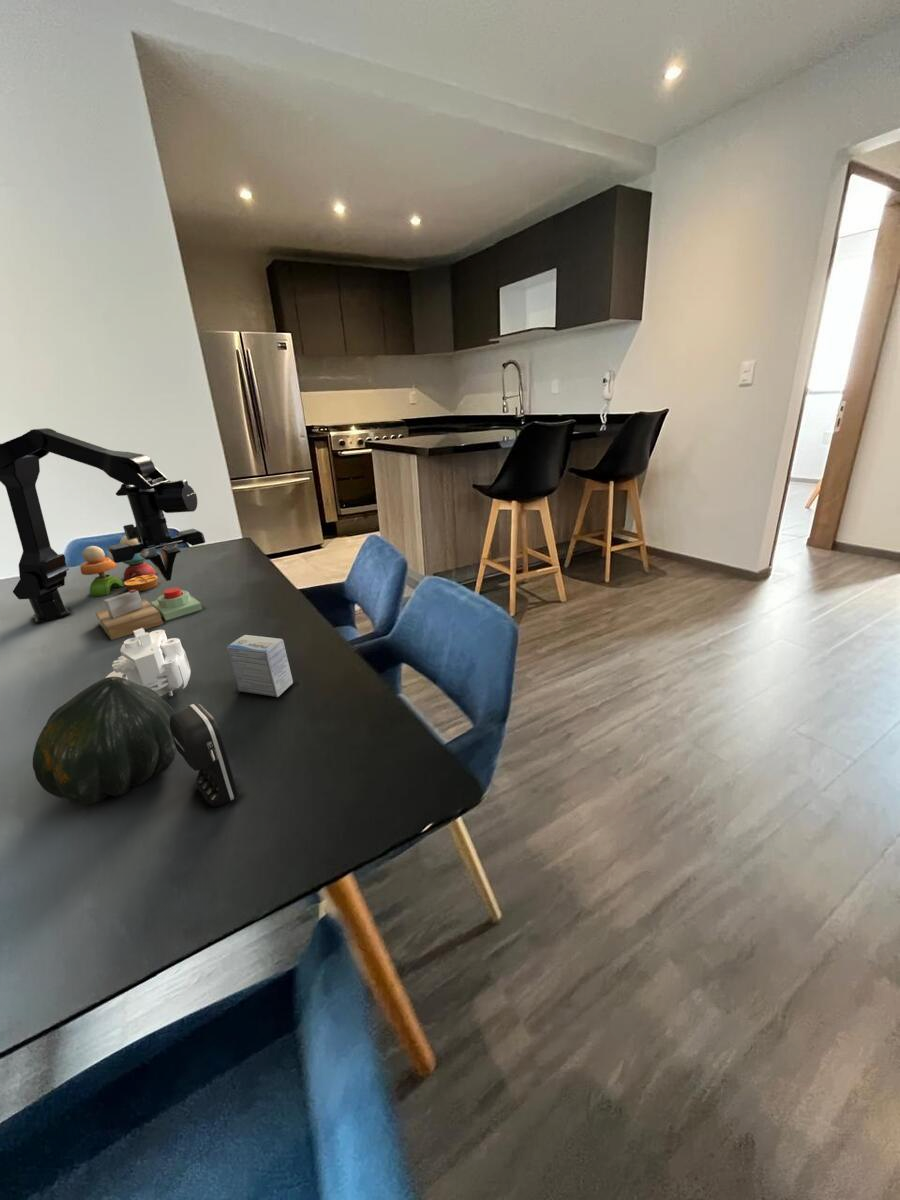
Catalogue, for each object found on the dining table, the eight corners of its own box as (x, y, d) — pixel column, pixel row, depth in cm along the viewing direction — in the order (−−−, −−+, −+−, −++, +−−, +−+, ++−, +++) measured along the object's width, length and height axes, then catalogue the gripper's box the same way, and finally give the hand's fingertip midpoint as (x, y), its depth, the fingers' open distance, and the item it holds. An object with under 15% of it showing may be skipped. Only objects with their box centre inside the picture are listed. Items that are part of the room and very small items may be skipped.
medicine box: (294, 684, 83) (284, 638, 79) (277, 698, 79) (266, 651, 75) (255, 678, 85) (244, 633, 82) (237, 692, 81) (225, 646, 78)
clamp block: (98, 625, 111) (93, 612, 110) (150, 609, 118) (146, 597, 117) (109, 640, 103) (104, 627, 102) (164, 623, 110) (160, 610, 108)
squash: (-3, 764, 59) (14, 697, 52) (116, 699, 72) (143, 638, 65) (79, 847, 59) (107, 792, 51) (184, 767, 72) (219, 714, 64)
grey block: (113, 618, 106) (106, 600, 105) (109, 616, 107) (103, 599, 105) (143, 607, 111) (137, 589, 110) (139, 606, 112) (134, 588, 110)
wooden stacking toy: (146, 593, 129) (131, 547, 124) (82, 597, 129) (65, 551, 124) (181, 570, 145) (169, 529, 140) (124, 573, 146) (111, 533, 141)
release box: (152, 608, 118) (148, 595, 117) (187, 598, 123) (183, 585, 122) (166, 620, 111) (161, 606, 110) (202, 609, 116) (198, 595, 115)
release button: (163, 597, 116) (161, 590, 115) (179, 593, 118) (177, 586, 118) (167, 601, 114) (165, 594, 113) (184, 596, 116) (182, 589, 115)
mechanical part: (120, 692, 83) (96, 630, 79) (197, 674, 88) (179, 614, 83) (106, 729, 74) (79, 660, 69) (194, 707, 78) (173, 641, 73)
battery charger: (187, 787, 61) (161, 711, 57) (218, 770, 64) (195, 696, 59) (208, 816, 57) (181, 736, 52) (241, 798, 59) (217, 719, 55)
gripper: (181, 502, 120) (198, 563, 126) (91, 518, 108) (114, 584, 114) (197, 507, 112) (214, 572, 118) (102, 525, 100) (126, 595, 106)
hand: (168, 580), depth 114 cm, fingers closed
